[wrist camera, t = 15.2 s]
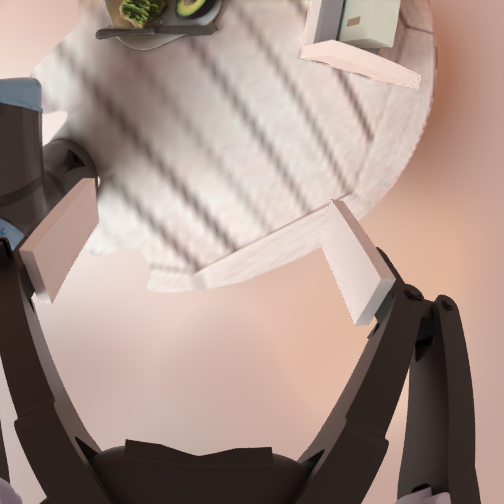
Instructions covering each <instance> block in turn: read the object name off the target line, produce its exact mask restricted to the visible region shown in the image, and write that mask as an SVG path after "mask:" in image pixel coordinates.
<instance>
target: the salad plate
mask: <svg viewBox="0 0 504 504" xmlns="http://www.w3.org/2000/svg"><path fill="white" fill-rule="evenodd" d="M103 1H104V5H105V8H106V11H107V14H108V16H109V19H110V26H109V27H107V28H105V29H100V30H98V31H97V33H96V38H97V39H107V38H116V39H118V40H119V41H121V42H122V43H123V44H124V45H125V46H127V47H130V48H134V49H138V50H149V49H152V48H156V47H158V46H161V45H163V44H166V43H168V42H169V41H172V40H174V39H176V38H179V37H181V36H183V35H186V34H189V35H191V36H198V35H211V34H212V33H214V32H215V31H217V30H218V29H217V27H216V26H214V21H215V19H216V17H217V15H218V13H219V12H220V10H221V6H222V3H223V0H103ZM160 20H164V23H163V24H160V22H159V21H160Z"/></svg>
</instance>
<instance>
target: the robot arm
mask: <svg viewBox="0 0 504 504" xmlns="http://www.w3.org/2000/svg"><path fill="white" fill-rule="evenodd" d="M42 113H43V108H42V87H41V84H40V82H39V81H38V80H37V79H35V78H28V77H26V78H9V79H0V355H1V360H2V364H3V369H4V373H5V377H6V380H7V384H8V387H9V391H10V394H11V397H12V401H13V404H14V407H15V410H16V413H17V416H18V419H17V420H15V422H14V427H15V430H16V433H17V436H18V438H19V441H20V443H21V446H22V448H23V450H24V453H25V455H26V457H27V459H28V462H29V464H30V466H31V468H32V470H33V472H34V474H35V476H36V478H37V480H38V481H39V483H40V485H41V487H42V489H43V491H44V492H45V494H46V496H47V498H46V499H44V500H43V501H42V502H41V503H40V504H361V503H362V501H363V499H364V497H365V495H366V494H367V492H368V490H369V488H370V486H371V484H372V482H373V480H374V478H375V476H376V474H377V472H378V470H379V468H380V466H381V463H382V461H383V459H384V457H385V454H386V452H387V449H388V445H389V441H388V440H386V439H385V435H386V432H387V429H388V427H389V424H390V422H391V419H392V417H393V414H394V411H395V409H396V406H397V403H398V400H399V397H400V394H401V391H402V388H403V385H404V382H405V379H406V375H407V372H408V369H409V365H410V371H409V397H408V398H409V399H408V412H407V423H406V433H405V441H404V448H403V455H402V462H401V468H400V474H399V481H398V493H397V501H396V503H395V504H481V501H480V494H479V487H478V481H477V476H476V470H475V413H474V399H473V389H472V380H471V373H470V366H469V359H468V353H467V347H466V342H465V337H464V332H463V328H462V323H461V318H460V314H459V310H458V307H457V305H456V303H455V302H454V301H453V300H452V299H451V298H450V297H448V296H446V295H438V297H437V298H436V300H435V301H434V302H432V301H429V300H426V299H424V297H423V295H422V293H421V292H420V291H419V290H418V289H417V288H415V287H414V286H412V285H410V284H405V283H404V281H403V280H402V278H401V277H400V275H399V273H398V272H397V270H396V269H395V268H394V266H393V264H392V263H391V262H390V260H389V258H388V257H387V255H386V254H385V253H384V252H383V251H382V250H381V249H380V248H378V247H375V246H374V244H373V243H372V241H371V240H370V238H369V237H368V235H367V234H366V233H365V231H364V230H363V228H362V227H361V226H360V224H359V223H358V221H357V220H356V218H355V217H354V216H353V214H352V213H351V211H350V210H349V209H348V207H347V206H346V205H345V203H344V202H343V201H338V200H332V199H331V201H330V204H329V207H328V210H327V214H326V217H325V220H324V223H323V226H322V229H321V232H320V235H319V238H318V241H319V243H320V245H321V248H322V250H323V252H324V254H325V256H326V259H327V261H328V263H329V265H330V268H331V270H332V272H333V274H334V277H335V279H336V281H337V284H338V286H339V288H340V291H341V293H342V296H343V298H344V300H345V303H346V305H347V308H348V310H349V312H350V315H351V317H352V320H353V322H354V325H369V323H370V322H371V320H372V319H373V317H374V316H375V317H376V319H377V321H378V322H377V324H376V325H375V327H374V329H373V330H372V331H371V333H370V334H369V336H368V337H367V338H368V339H369V340H368V342H367V344H366V347H365V349H364V351H363V353H362V355H361V357H360V359H359V361H358V363H357V365H356V367H355V369H354V371H353V373H352V376H351V377H350V379H349V381H348V383H347V385H346V387H345V389H344V390H343V392H342V394H341V396H340V398H339V399H338V401H337V403H336V405H335V407H334V408H333V410H332V412H331V413H330V415H329V417H328V418H327V420H326V422H325V424H324V425H323V427H322V428H321V430H320V432H319V433H318V435H317V436H316V438H315V440H314V441H313V442H312V444H311V445H310V447H309V448H308V449H307V450H306V451H305V452H304V453H303V454H302V456H301V457H300V458H299V459H298V461H297V462H296V461H294V460H292V459H290V458H288V457H285V456H282V455H278V454H273V453H272V448H271V447H261V448H235V449H231V450H227V451H222V452H218V453H213V454H208V455H203V456H196V455H192V454H188V453H185V452H181V451H179V450H176V449H173V448H170V447H166V446H164V445H161V444H154V443H147V442H140V441H133V440H128V439H126V442H125V446H119V447H114V448H110V449H107V450H105V451H103V452H102V451H101V449H100V448H99V447H98V445H97V444H96V442H95V441H94V440H93V439H92V437H91V436H90V435H89V433H88V432H87V430H86V429H85V427H84V425H83V423H82V422H81V420H80V418H79V416H78V414H77V412H76V410H75V408H74V406H73V404H72V402H71V400H70V398H69V396H68V394H67V392H66V390H65V388H64V386H63V383H62V381H61V379H60V377H59V374H58V372H57V369H56V367H55V365H54V362H53V360H52V357H51V355H50V352H49V349H48V346H47V344H46V341H45V338H44V335H43V332H42V329H41V326H40V323H39V320H38V317H37V313H36V310H35V306H34V303H33V301H32V299H31V297H32V295H33V293H34V292H35V293H36V295H37V298H38V300H39V301H40V302H46V303H51V304H52V303H53V301H54V299H55V297H56V295H57V293H58V291H59V289H60V287H61V285H62V284H63V282H64V280H65V278H66V276H67V274H68V273H69V271H70V269H71V267H72V265H73V263H74V262H75V260H76V258H77V257H78V255H79V253H80V252H81V250H82V248H83V247H84V245H85V243H86V242H87V240H88V238H89V237H90V235H91V234H92V232H93V231H94V229H95V227H96V226H97V224H98V223H99V216H98V208H97V199H96V193H97V188H98V177H97V172H96V168H95V165H94V163H93V161H92V159H91V158H90V156H89V155H88V153H87V152H86V151H85V150H84V149H83V148H82V147H81V146H79V145H78V144H76V143H74V142H72V141H68V140H55V141H52V142H49V143H48V144H46V145H44V146H42ZM0 504H22V500H21V498H20V496H19V495H18V494H17V493H15V491H14V489H13V488H12V486H11V485H10V479H9V470H8V464H7V458H6V452H5V447H4V442H3V436H2V429H1V422H0Z"/></svg>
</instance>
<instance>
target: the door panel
mask: <svg viewBox="0 0 504 504" xmlns="http://www.w3.org/2000/svg"><path fill="white" fill-rule="evenodd" d="M400 2H401V0H343V6H342V11H341V16H340V21H339V27H338V32H337V37H336V41H339V42H342V43H345V44H348V45H351V46H354V47H357V48H388V47H393V43H394V38H395V32H396V27H397V21H398V15H399V8H400Z"/></svg>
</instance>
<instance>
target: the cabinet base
mask: <svg viewBox="0 0 504 504" xmlns="http://www.w3.org/2000/svg"><path fill="white" fill-rule="evenodd" d="M342 6H343V0H310V3H309V8H308V14H307V19H306V24H305V29H304V34H303V39H302V44H301V49H300V54H299V59H303V60H307V61H311V62H315V63H319V64H323V65H326V66H330V67H333V68H337V69H340V70H343V71H347V72H350V73H353V74H356V75H359V76H362V77H365V78H367V79H372V80H377V81H382V82H387V83H392V84H397V85H401V86H405V87H410V88H414V89H417V90H418V89H419V85H420V80H421V75H419V74H417V73H415V72H413V71H411V70H409V69H407V68H405V67H403V66H401V65H399V64H396V63H394V62H392V61H390V60H387V59H385V58H382V57H380V56H378V55H379V50H380V48H357V47H354V46H351V45H348V44H345V43H342V42H339V41H336V37H337V32H338V27H339V21H340V16H341V11H342Z"/></svg>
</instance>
